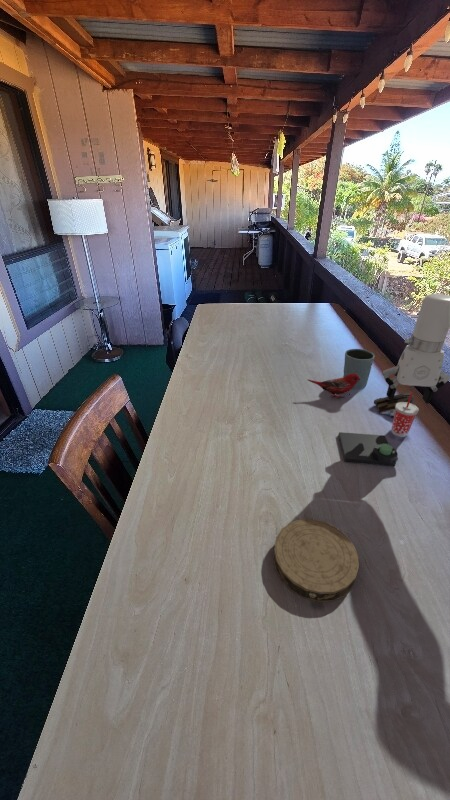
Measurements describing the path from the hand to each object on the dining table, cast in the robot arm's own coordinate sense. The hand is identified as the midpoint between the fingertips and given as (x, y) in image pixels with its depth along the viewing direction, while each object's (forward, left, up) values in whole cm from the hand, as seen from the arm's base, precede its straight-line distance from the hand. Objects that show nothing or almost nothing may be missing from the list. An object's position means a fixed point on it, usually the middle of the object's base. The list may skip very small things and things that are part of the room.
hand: (407, 399), depth 100 cm
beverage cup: (0, 0, -12) cm, 12 cm away
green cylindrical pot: (+8, -31, -12) cm, 34 cm away
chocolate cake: (-1, -11, -12) cm, 16 cm away
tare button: (+8, +14, -9) cm, 18 cm away
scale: (+12, +10, -11) cm, 19 cm away
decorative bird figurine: (+18, -19, -12) cm, 28 cm away
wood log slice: (+29, +47, -12) cm, 56 cm away
